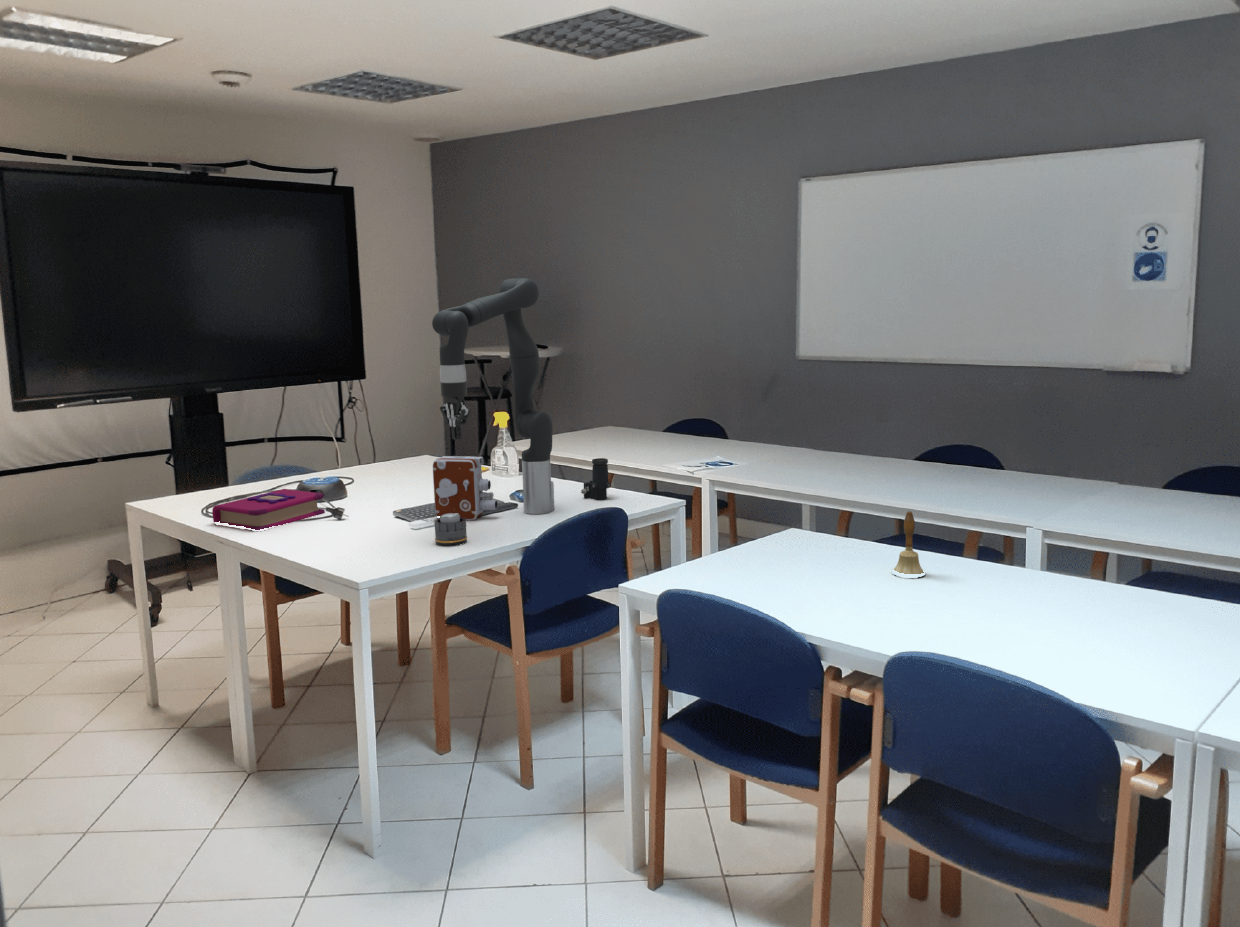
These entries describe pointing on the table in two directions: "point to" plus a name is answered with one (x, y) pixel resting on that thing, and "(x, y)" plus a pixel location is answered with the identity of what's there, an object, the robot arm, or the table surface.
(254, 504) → the book
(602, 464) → the scope
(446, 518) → the lens cap
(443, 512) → the cine camera
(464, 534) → the lens barrel
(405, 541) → the table surface
